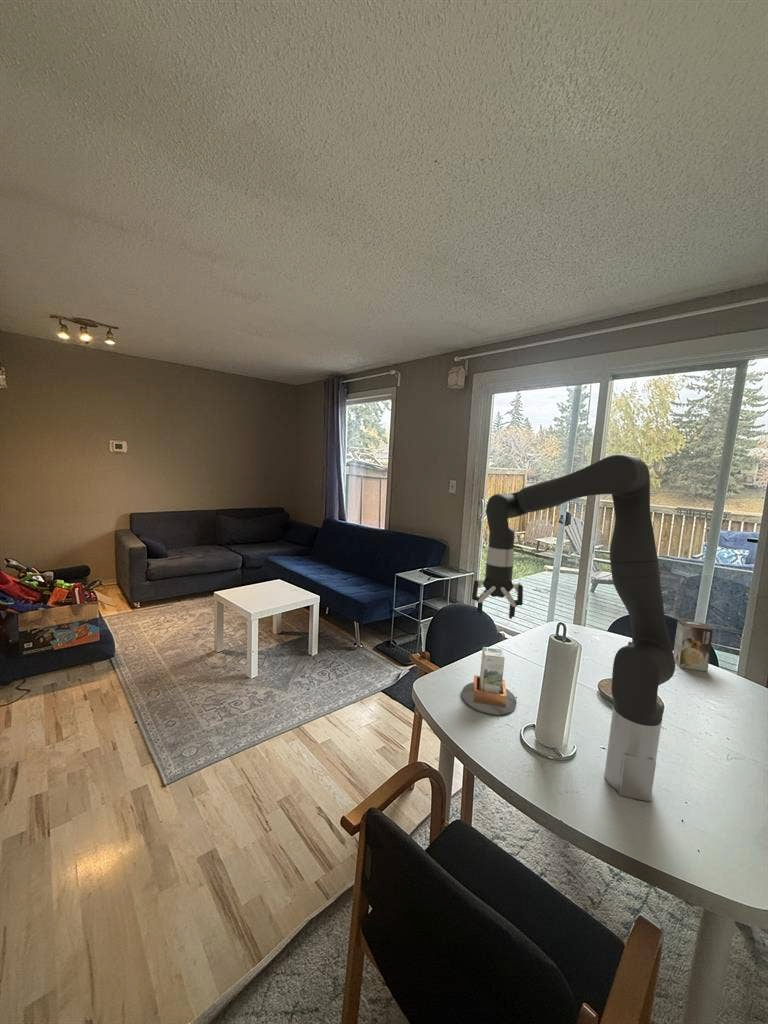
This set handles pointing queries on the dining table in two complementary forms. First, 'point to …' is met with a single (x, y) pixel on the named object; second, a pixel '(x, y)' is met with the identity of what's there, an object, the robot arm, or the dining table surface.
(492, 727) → the dining table surface
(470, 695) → the rosette socket
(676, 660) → the coffee box
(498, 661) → the syrup box
